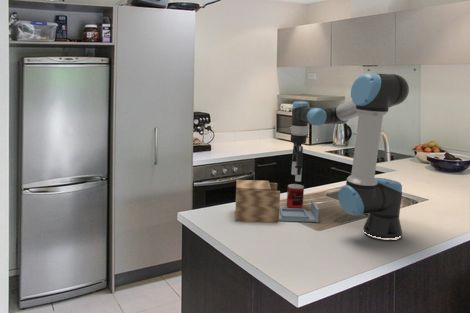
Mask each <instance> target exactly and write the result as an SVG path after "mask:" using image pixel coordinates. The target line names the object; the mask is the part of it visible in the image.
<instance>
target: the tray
mask: <svg viewBox="0 0 470 313" xmlns="http://www.w3.org/2000/svg"><path fill="white" fill-rule="evenodd" d="M310 202H311V203H310V210H309V211H308V210H306V208H302V209H299V208H288V207H279V222H280V221H281V222H303V223H304V222H312V223H319V217H320V215H319V214H320V208H319V207H318V205H317V204H316V201H314V200H310Z"/></svg>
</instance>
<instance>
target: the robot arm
mask: <svg viewBox="0 0 470 313" xmlns="http://www.w3.org/2000/svg"><path fill="white" fill-rule="evenodd" d="M350 89H351V90H350V98H351V100H348V101H346V102H344V103H341V104H339V105H337V106H333V107H311V106H310V105H309V104H310V103H309V102H308V101H294V102H293V103H292V109H291V126H290V127H289V129H290V131H291V132H290V133H291V134H290V143H293V147H292V148H293V149H292V156H291V162H292V163H291V175H292V176H293V175H294V178H295V179H294V181H295V182H302V172H303V168H304V163H303V162H304V157H303V154H304V152H303V151H304V150H303V149H304V147H303V146H302V145H303V144H306V143H307V140H308V139H307V135H308V125H312V126H322V125H342V124H345V123H347V122H348V121H349V120H350V119H353V118H357V117H358V121H357V129H356V135H355V144H354V150H353V161H352V166H351V167H352V168H351V174H350V175H348V177H347V178H346V182H345V185H342V186H341V187H340V188H339V190H338V194H337V196H338V202H339V205H340V207H341V208H342V210H343V211H344V212H345V213H346V214H349V215H351V216H357V215H358V216H361V215H365V214H368V215H367V218H366V220H365V222H364V225H363V228H362V229H363V230H364V232H366V233H367V234H370V235H372V236H376V237H381V238H395V237H399V236H401V235H402V236H403V230H402V228H403V227H402V224H401V221H400V213H401V205H402V204H401V203H402V197H403V196H402V194H403V185H402V183H401V182H399V181H397V180H392V179H390V178H389V179H388V178H383V177H376V176H375V175H376V168H377V167H376V166H377V161H378V154H379V147H380V142H381V140H380V139H381V135H382V134H381V133H382V127H383V118H384V115H386V114H387V113H388V112H389V108H391V107H395V106H398V105H401V104H402V103H404V101H406V99H407V98H408V95H409V91H410V87H409V82H408V81H407V79H405V78H404V77H402V75H399V74H394V73H391V74H390V73H377V72H376V73H375V72H371V73H370V72H369V73H367V72H366V73H363V74H360V75H359V76H358V77H357V78H356V79H355V80H354V81H353V83H352V86H351V88H350ZM363 230H362V231H363Z"/></svg>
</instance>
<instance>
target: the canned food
mask: <svg viewBox="0 0 470 313" xmlns="http://www.w3.org/2000/svg"><path fill="white" fill-rule="evenodd" d="M304 192H305V186H304V185H302V184H298V183H291V184H288V185H287V193H286V194H287V195H286V196H287V197H286V208H299V209H303V207H304Z"/></svg>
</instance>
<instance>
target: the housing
mask: <svg viewBox="0 0 470 313" xmlns="http://www.w3.org/2000/svg"><path fill="white" fill-rule="evenodd" d="M235 185H236V186H235V212H234V213H235V218H234V219H235V220H234V221H235V222H246V221H249V222H252V223H258V222H259V223H278V222H280V221H279V208H280V202H281V191H280V190H278V182H277V183H276V182H270V181H269V180H259V179H258V180H257V179H255V180H254V179H253V180H252V179H236V184H235ZM249 222H248V223H249Z"/></svg>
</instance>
